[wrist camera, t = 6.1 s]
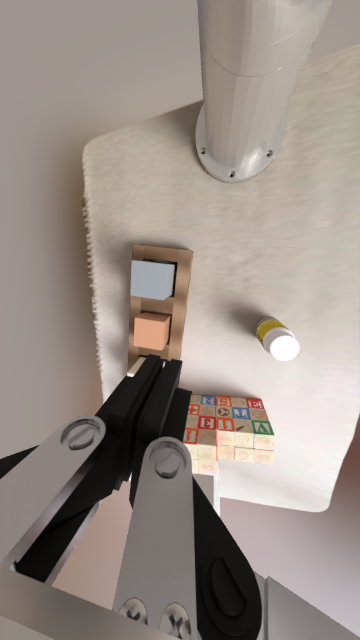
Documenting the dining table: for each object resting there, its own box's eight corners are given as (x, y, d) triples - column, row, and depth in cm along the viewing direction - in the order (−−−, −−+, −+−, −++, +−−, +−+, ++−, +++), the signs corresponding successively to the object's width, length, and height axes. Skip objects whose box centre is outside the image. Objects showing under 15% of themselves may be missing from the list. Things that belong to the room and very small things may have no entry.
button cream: (140, 356, 38) (127, 372, 32) (165, 361, 37) (156, 378, 31) (139, 378, 39) (126, 397, 34) (162, 383, 39) (154, 403, 33)
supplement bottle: (249, 328, 36) (259, 346, 28) (270, 312, 34) (287, 325, 26) (266, 347, 36) (281, 369, 28) (288, 330, 35) (310, 349, 27)
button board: (139, 246, 35) (131, 244, 32) (193, 251, 34) (191, 250, 31) (132, 379, 43) (126, 388, 40) (176, 387, 42) (173, 398, 39)
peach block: (146, 310, 37) (134, 317, 32) (172, 313, 37) (164, 322, 31) (145, 334, 39) (133, 345, 33) (169, 338, 38) (161, 350, 32)
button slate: (145, 261, 33) (131, 260, 27) (174, 264, 32) (166, 264, 26) (144, 290, 34) (130, 295, 28) (171, 294, 34) (163, 300, 28)
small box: (187, 446, 46) (177, 513, 33) (214, 445, 44) (214, 515, 32) (193, 472, 47) (186, 545, 35) (219, 473, 46) (221, 549, 34)
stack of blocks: (261, 397, 39) (282, 453, 28) (260, 423, 41) (278, 486, 29) (160, 391, 43) (140, 438, 31) (162, 415, 45) (143, 467, 33)
